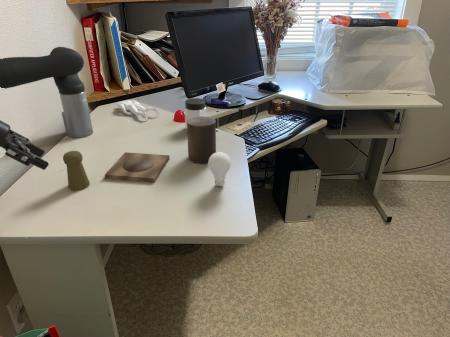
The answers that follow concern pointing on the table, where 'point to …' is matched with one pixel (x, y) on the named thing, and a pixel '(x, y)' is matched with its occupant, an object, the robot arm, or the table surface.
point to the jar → (194, 108)
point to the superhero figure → (135, 108)
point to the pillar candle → (201, 138)
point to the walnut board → (138, 167)
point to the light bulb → (219, 167)
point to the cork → (75, 171)
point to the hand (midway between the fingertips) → (44, 160)
